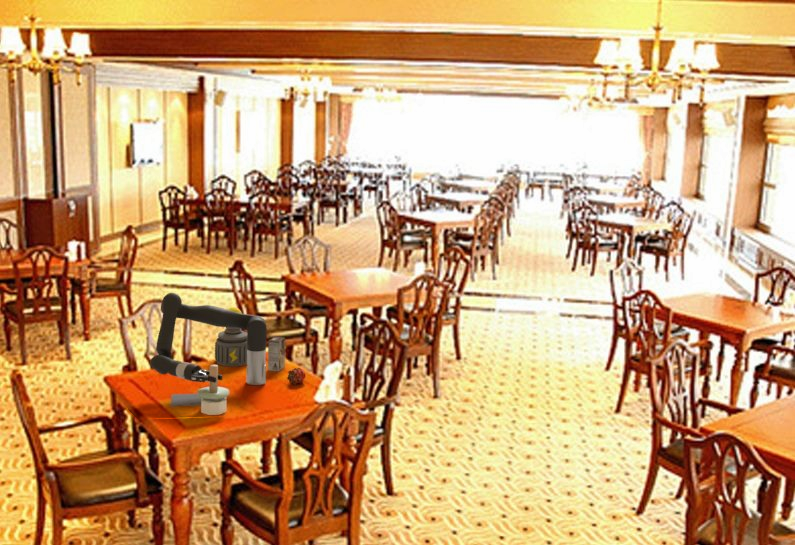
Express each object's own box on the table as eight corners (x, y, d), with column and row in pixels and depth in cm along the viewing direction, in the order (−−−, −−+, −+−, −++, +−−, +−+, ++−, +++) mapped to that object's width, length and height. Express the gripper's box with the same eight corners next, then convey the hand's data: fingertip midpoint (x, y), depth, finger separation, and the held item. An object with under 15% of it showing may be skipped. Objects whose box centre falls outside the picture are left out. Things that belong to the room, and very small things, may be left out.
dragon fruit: (290, 389, 424) (298, 386, 435) (304, 381, 422) (311, 377, 434) (282, 375, 424) (289, 371, 436) (296, 366, 423) (303, 363, 434)
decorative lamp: (251, 367, 452) (252, 311, 446) (215, 367, 447) (215, 311, 442) (249, 356, 470) (250, 303, 464) (214, 357, 465) (214, 303, 460)
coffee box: (273, 365, 456) (274, 336, 453) (285, 366, 455) (285, 337, 452) (267, 370, 447) (268, 340, 444) (279, 371, 446) (279, 341, 443)
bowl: (225, 406, 392) (226, 394, 391) (226, 415, 381) (226, 402, 380) (201, 407, 389) (201, 394, 388) (201, 416, 379) (201, 403, 378)
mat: (206, 394, 407) (206, 393, 406) (206, 406, 391) (206, 405, 391) (171, 395, 403) (171, 394, 403) (170, 407, 388) (170, 406, 388)
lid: (228, 388, 392) (229, 360, 389) (229, 398, 379) (230, 370, 376) (197, 388, 389) (197, 361, 386) (197, 399, 375) (197, 370, 373)
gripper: (178, 367, 382) (208, 374, 374) (199, 359, 394) (229, 367, 386) (177, 383, 383) (208, 391, 375) (198, 375, 396) (228, 382, 388)
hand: (218, 378), depth 381 cm, fingers closed on lid, 3 cm apart
